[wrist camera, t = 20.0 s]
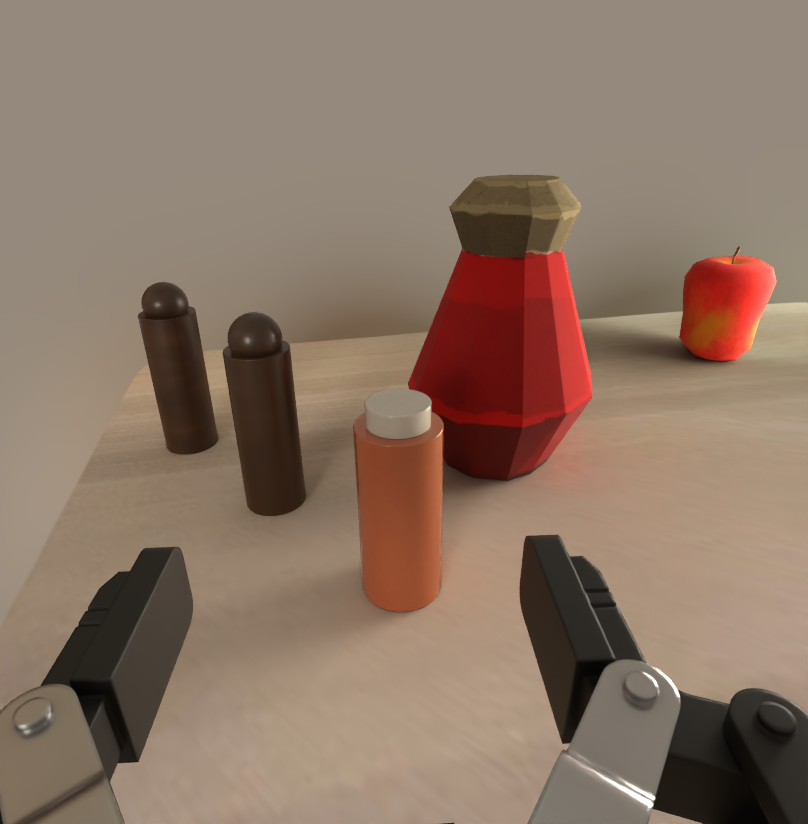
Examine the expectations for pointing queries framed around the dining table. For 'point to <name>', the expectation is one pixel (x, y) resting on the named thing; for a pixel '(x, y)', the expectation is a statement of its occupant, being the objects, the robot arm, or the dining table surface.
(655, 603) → the dining table surface
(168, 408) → the post
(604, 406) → the dining table surface
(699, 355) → the apple
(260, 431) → the post
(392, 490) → the shaker
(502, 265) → the bottle
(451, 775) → the dining table surface
